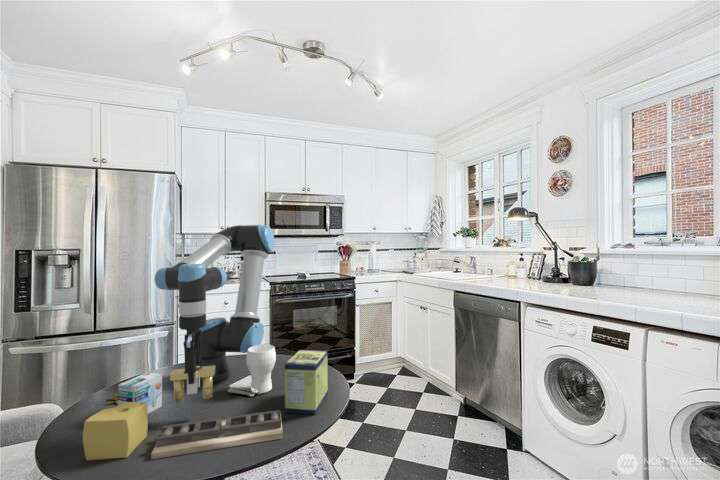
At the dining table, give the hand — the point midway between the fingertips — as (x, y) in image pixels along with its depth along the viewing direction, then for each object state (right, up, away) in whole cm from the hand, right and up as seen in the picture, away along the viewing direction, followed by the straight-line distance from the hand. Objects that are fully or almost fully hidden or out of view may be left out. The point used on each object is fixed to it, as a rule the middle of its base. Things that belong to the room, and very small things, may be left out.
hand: (193, 390), depth 103 cm
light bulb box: (-19, -9, +4) cm, 22 cm away
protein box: (+34, -9, +10) cm, 36 cm away
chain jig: (+13, -9, -9) cm, 18 cm away
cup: (+15, -9, +21) cm, 27 cm away
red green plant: (-31, -10, +14) cm, 36 cm away
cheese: (-13, -9, -15) cm, 21 cm away
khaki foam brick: (0, -3, 0) cm, 3 cm away
